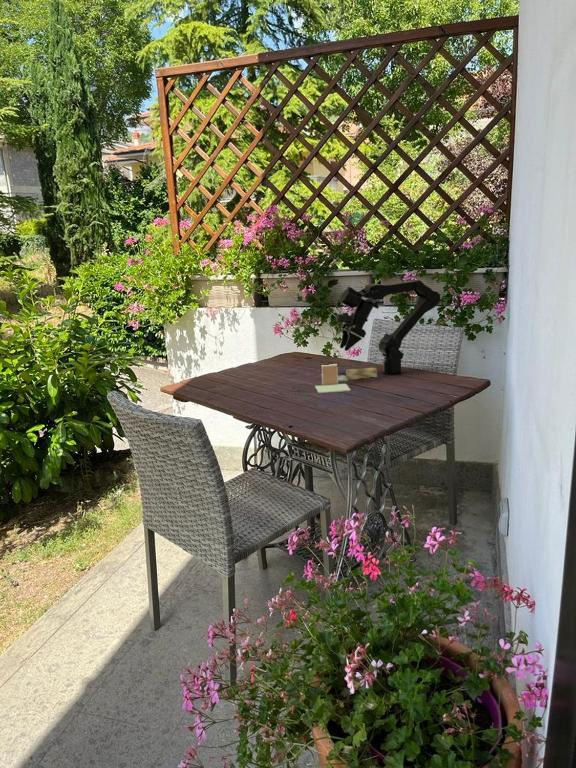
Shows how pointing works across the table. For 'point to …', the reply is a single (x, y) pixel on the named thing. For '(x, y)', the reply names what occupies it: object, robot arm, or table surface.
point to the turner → (358, 374)
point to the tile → (329, 374)
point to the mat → (332, 388)
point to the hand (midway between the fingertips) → (343, 349)
